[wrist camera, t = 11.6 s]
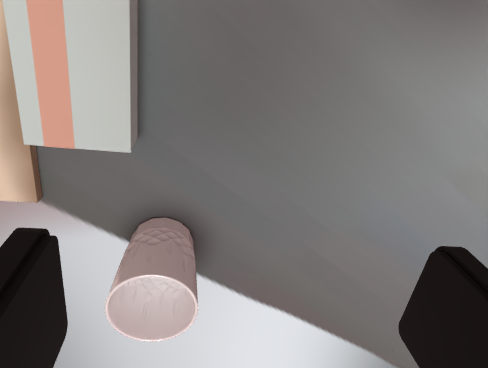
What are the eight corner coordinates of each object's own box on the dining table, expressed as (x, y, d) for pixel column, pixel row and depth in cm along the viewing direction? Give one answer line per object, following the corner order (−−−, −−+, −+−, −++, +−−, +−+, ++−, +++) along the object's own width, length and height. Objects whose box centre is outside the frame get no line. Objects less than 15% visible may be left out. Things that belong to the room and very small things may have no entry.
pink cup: (212, 242, 40) (216, 309, 31) (163, 280, 42) (153, 354, 33) (162, 198, 37) (150, 259, 28) (111, 241, 39) (84, 311, 30)
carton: (137, -3, 29) (129, -4, 25) (137, 137, 34) (130, 153, 30) (24, -19, 27) (-2, -23, 24) (43, 129, 33) (23, 144, 29)
